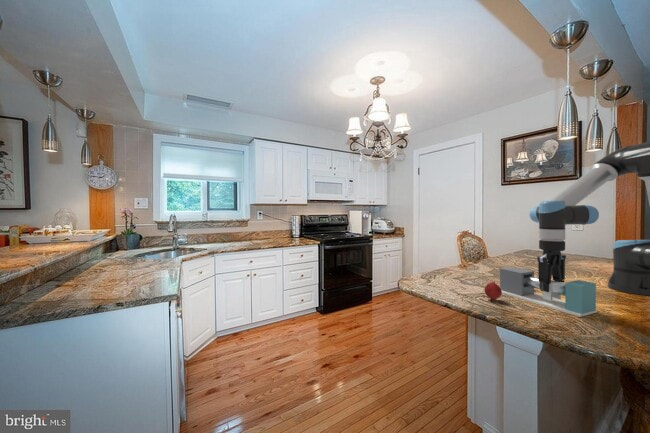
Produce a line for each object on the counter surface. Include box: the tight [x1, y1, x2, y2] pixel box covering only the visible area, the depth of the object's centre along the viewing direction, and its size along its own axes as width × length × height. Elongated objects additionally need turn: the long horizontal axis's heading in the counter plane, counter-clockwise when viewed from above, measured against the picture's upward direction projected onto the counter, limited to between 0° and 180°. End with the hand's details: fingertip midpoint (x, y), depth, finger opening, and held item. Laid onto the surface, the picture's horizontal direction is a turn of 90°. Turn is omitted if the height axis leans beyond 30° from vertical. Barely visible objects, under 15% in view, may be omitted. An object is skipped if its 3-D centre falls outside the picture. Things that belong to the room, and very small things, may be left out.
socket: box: [564, 279, 597, 314], centre depth 87 cm, size 9×4×10 cm, turn 110°
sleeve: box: [499, 266, 535, 296], centre depth 107 cm, size 8×9×10 cm
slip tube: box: [524, 275, 566, 297], centre depth 98 cm, size 19×6×6 cm, turn 20°
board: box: [501, 290, 599, 318], centre depth 98 cm, size 11×28×1 cm, turn 20°
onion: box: [484, 280, 502, 301], centre depth 100 cm, size 6×6×8 cm
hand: (551, 298), depth 95 cm, fingers closed on slip tube, 5 cm apart
